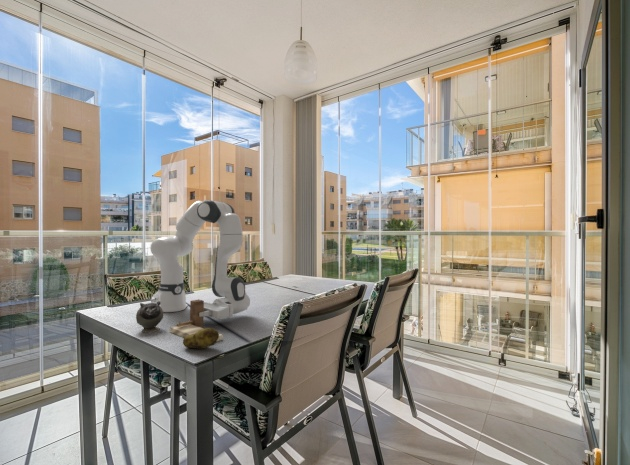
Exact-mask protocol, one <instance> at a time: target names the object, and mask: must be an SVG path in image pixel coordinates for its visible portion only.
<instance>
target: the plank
mask: <svg viewBox="0 0 630 465" xmlns="http://www.w3.org/2000/svg"><path fill="white" fill-rule="evenodd" d="M202 329H204V327H203V328H201V327H197V326H194V325H191V324H189V325H185V326H181V327H177V325H174V326H170V328H169V330H170V333H172V334H174V335H176V336H179V337H182V338H183V339H184V338H185V337H186V336H188V335H191V334H194V333H196V332H198V331H200V330H202ZM222 340H223V334H222V333H219V338H218V340H217V341H216V343H217V342H219V341H222Z"/></svg>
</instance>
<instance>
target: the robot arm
mask: <svg viewBox="0 0 630 465" xmlns="http://www.w3.org/2000/svg"><path fill="white" fill-rule="evenodd" d="M206 222H207V223H211V224H217V225H218V227H219V244H218V248H217V251H216V254H215V255H216V256H215V265H214V274H213V275H214V276H213V281H212V284H211V291H212V293H213V294H214V296H216V297H217V298H216V299H214V301H213V302H212V303H211V302H207V301H206V302H205V301H204V312H198V316H200V317H201V316H203V317H210V318H213V319H216V320H221V319H232V318H233V315H237V314H240V313H243V312H244V311H246V310H247V309H248V308H249V307H250V305H251V304H250V303H251V298H250V297H249V295H248V294H247V292H246V283H245V282H244V280H243V279H242V277H237V276H236V277H235V276H232V277H228V276H227V275H228V273H227V271H228V262H229V259H230V258H231V257H232V255H234V254H235V253H237V252H238V251H240V250H241V248H242V247H243V242H244V238H243V227H242V226H243V225H242V220H241V218H240V216H239V214H236V213H235V209H234V207H233V206H232V205H231V204H228V203H227V202H223V201H218V200H211V199H205V200H197V201H195V202H194V203H192V204H191V205H190V206H189V207H188V208H187V209H186V211H185V212H184V213H183V215H182V216H181V217H180V219H179V220H178V221H177V223H176V225H175V229H176V233H175V234H174V235H173V236H163V237H159V238H156V239H154V240H152V242H151V243H150V253H151V254H152V255H153V256H154V257H155V258H156V259H157V261H158V264H159V268H160V283H159V284H158V290H157V292H155V293H154V294H153V295H152V296H151V298H150V303H156V304H157V302H159V301H160V302H161V303H160V305H159V306H160V307H161V308H162V310H163V313H172V312H173V313H175V312H180V311H183V310H185V309H186V308H187V307H188V306H189V305H188V304H187V297H186V291H185V290H184V289H185V282H184V267H183V266H182V265H181V264H180V262H179V259H178V258H181V257H184V256H187V255H189V254H191V253H192V252H193V249H194V243H193V241H194V239H195V237H196V235H197V234H198V232H199V231H200V230H201V228H202V227H203V226H204V225H205V223H206Z"/></svg>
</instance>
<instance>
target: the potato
mask: <svg viewBox="0 0 630 465" xmlns="http://www.w3.org/2000/svg"><path fill="white" fill-rule="evenodd" d="M203 328H204V327H203ZM219 334H220V333H219V331H218V330H217V329H216V328H213V327H206V328H204V329H202V330H200V331H198V332H196V333H194V334H191V335H188V336H186V337H185V338H184V337H183V340H182V344H183V346H184V347H185V348H188V349H190V348H191V349H198V350H199V349H204V348H207V347H212V346H215V344H216V343H217V342H218V341H217V340H218V338H219ZM216 341H217V342H216Z"/></svg>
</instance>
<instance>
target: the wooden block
mask: <svg viewBox="0 0 630 465" xmlns="http://www.w3.org/2000/svg"><path fill="white" fill-rule="evenodd" d="M204 302H205V301H204V300H203V299H192V300H190V303H189V308H190V309H189V320H188V321H183V322H181V321H178V323H176V326H177V327H181V326H185V325H189V324H191V325H194V326H197V327H201V328H204V316H201V317H200V316H198V312H204Z"/></svg>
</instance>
